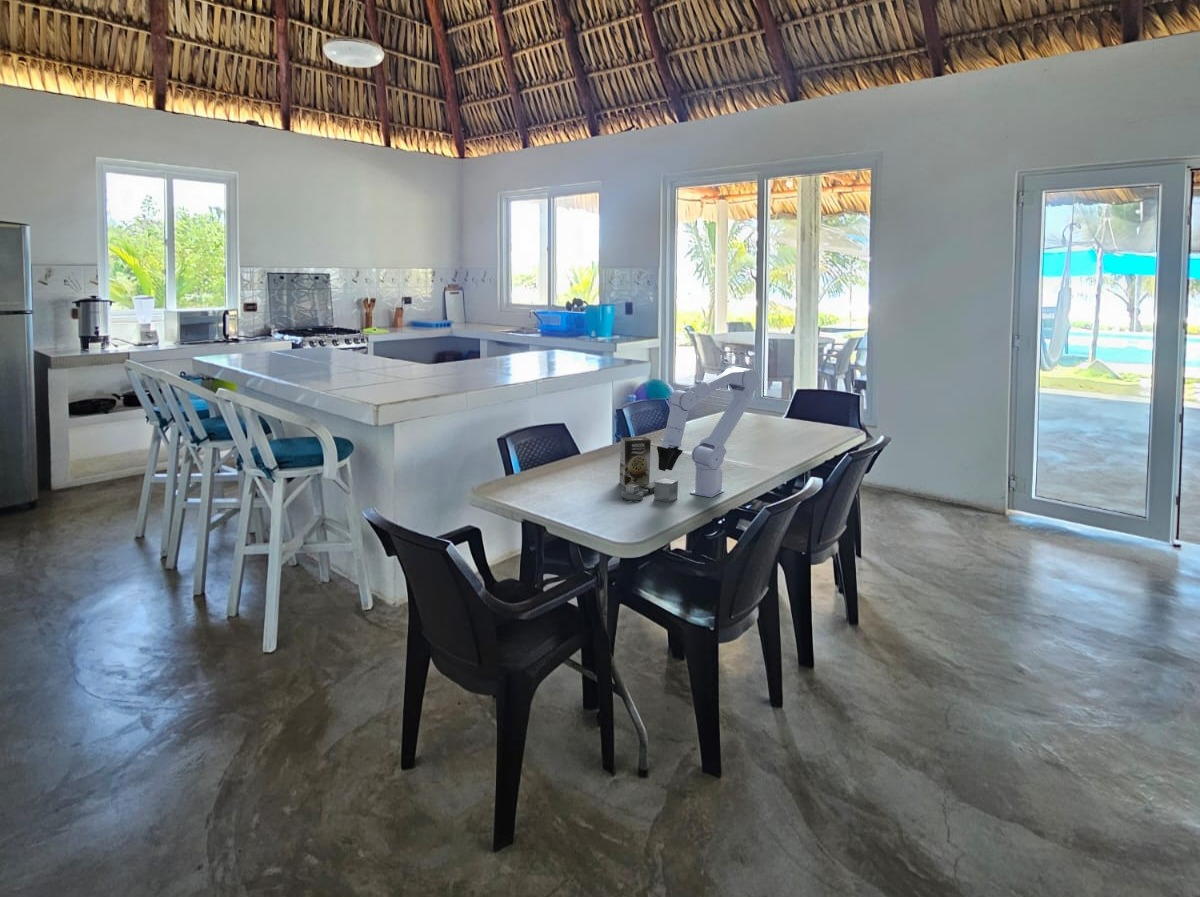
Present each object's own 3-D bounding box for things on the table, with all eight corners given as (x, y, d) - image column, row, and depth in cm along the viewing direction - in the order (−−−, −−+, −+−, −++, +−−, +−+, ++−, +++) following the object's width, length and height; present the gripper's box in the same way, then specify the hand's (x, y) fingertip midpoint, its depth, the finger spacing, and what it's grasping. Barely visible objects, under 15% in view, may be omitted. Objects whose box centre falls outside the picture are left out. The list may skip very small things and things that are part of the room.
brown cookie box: (624, 487, 264) (625, 440, 260) (619, 482, 270) (619, 437, 267) (650, 485, 266) (651, 439, 263) (644, 481, 272) (645, 435, 269)
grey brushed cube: (663, 495, 255) (663, 478, 253) (677, 498, 251) (677, 480, 250) (654, 499, 250) (654, 481, 249) (668, 502, 247) (669, 484, 246)
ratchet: (649, 486, 266) (649, 473, 265) (667, 489, 262) (667, 476, 261) (617, 499, 251) (617, 485, 250) (635, 503, 247) (635, 489, 246)
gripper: (669, 425, 254) (659, 466, 255) (656, 424, 240) (646, 467, 241) (690, 431, 252) (680, 471, 253) (678, 429, 238) (668, 473, 239)
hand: (665, 470), depth 247 cm, fingers open, 7 cm apart
